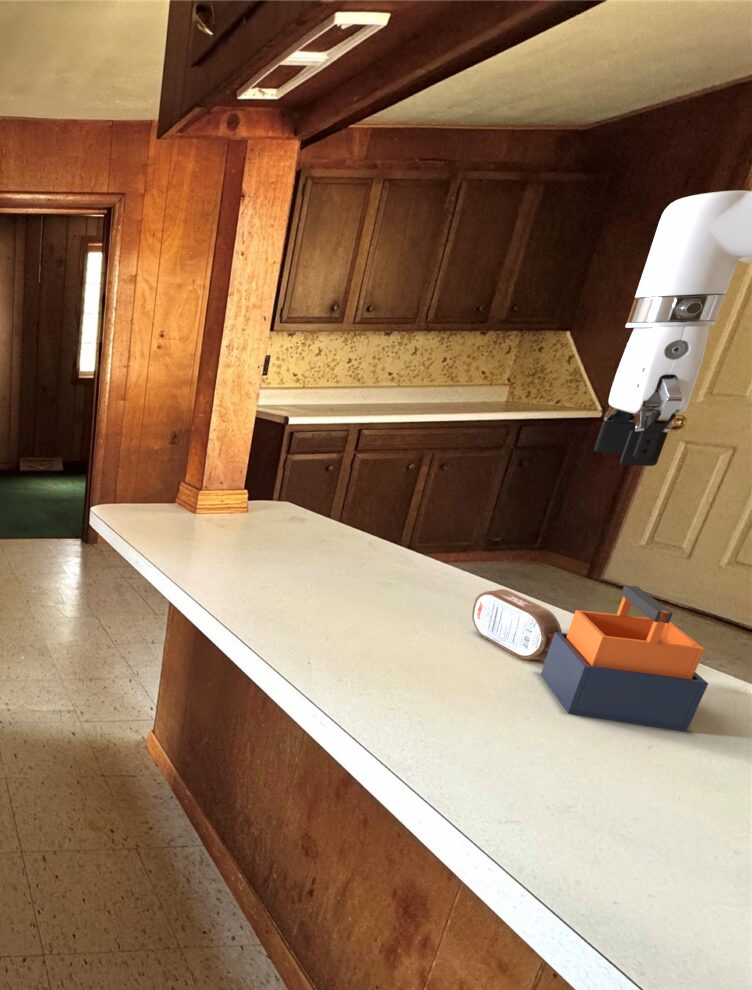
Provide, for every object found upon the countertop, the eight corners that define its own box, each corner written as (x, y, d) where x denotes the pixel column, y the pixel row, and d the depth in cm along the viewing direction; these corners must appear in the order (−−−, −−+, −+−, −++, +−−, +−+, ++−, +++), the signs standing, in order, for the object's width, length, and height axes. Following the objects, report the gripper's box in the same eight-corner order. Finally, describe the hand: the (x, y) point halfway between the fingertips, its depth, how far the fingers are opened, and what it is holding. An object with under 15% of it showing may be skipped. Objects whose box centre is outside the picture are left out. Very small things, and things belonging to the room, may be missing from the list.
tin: (554, 668, 99) (572, 617, 96) (533, 669, 99) (550, 618, 96) (481, 627, 113) (494, 582, 110) (462, 628, 113) (475, 582, 110)
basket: (639, 687, 92) (679, 590, 87) (673, 723, 84) (719, 617, 79) (552, 675, 96) (585, 581, 91) (576, 708, 88) (614, 606, 83)
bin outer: (645, 689, 93) (663, 644, 90) (686, 732, 83) (708, 683, 81) (540, 674, 98) (554, 631, 95) (567, 713, 88) (584, 666, 85)
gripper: (755, 311, 70) (693, 472, 76) (684, 313, 84) (636, 449, 90) (659, 314, 73) (606, 468, 79) (606, 315, 87) (565, 447, 93)
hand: (622, 458), depth 85 cm, fingers open, 9 cm apart
